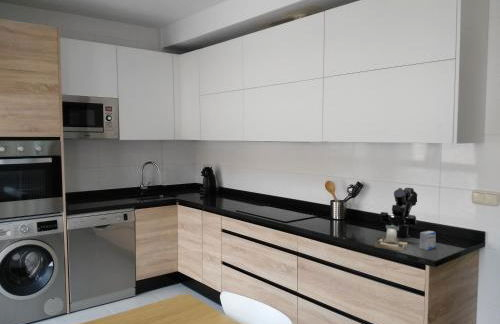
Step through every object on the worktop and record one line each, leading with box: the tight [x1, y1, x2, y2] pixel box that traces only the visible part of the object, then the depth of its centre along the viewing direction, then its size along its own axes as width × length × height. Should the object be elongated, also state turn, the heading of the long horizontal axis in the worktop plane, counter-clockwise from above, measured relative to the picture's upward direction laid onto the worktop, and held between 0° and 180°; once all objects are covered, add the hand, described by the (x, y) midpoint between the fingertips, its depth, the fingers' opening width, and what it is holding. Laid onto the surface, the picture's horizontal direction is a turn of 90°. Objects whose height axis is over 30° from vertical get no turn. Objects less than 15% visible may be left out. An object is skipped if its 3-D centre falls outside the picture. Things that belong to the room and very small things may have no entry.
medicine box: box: [419, 230, 437, 251], centre depth 203 cm, size 8×4×9 cm, turn 126°
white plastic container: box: [385, 224, 399, 242], centre depth 205 cm, size 5×6×9 cm
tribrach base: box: [374, 236, 409, 252], centre depth 205 cm, size 12×14×5 cm
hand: (395, 230), depth 211 cm, fingers closed
